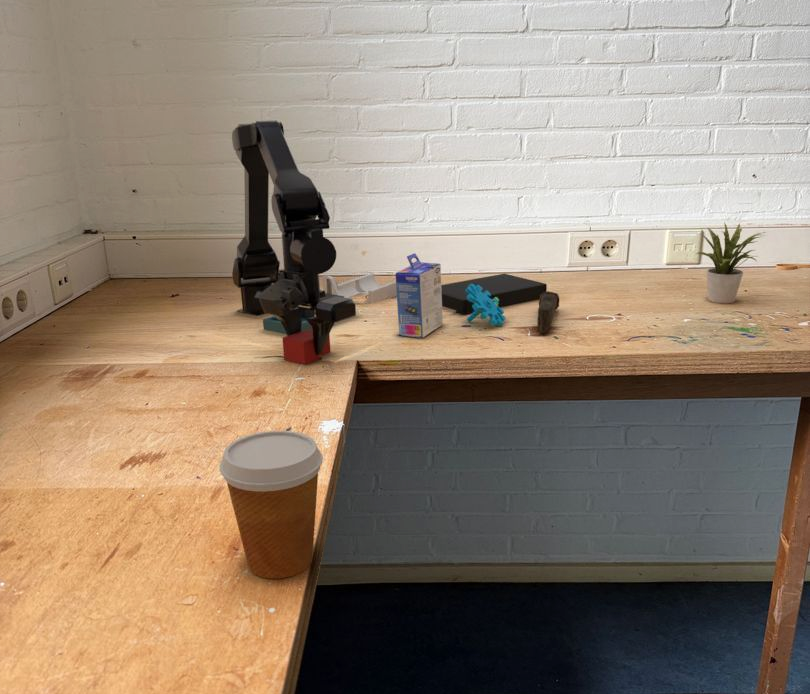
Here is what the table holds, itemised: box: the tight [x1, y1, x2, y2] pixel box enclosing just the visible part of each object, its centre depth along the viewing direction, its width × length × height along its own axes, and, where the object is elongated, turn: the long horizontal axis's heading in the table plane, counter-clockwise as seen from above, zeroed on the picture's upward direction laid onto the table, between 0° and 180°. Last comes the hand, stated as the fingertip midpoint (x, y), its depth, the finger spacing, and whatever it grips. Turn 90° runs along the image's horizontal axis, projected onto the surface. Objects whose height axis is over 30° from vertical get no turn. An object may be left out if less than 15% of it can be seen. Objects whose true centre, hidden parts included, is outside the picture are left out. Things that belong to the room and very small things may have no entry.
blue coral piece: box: [465, 284, 507, 327], centre depth 156 cm, size 11×6×10 cm
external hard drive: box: [441, 273, 548, 315], centre depth 174 cm, size 14×23×3 cm, turn 124°
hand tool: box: [537, 290, 560, 334], centre depth 155 cm, size 19×4×5 cm, turn 164°
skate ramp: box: [321, 270, 397, 305], centre depth 180 cm, size 15×13×5 cm
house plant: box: [695, 221, 766, 304], centre depth 164 cm, size 14×14×16 cm
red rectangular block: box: [281, 329, 331, 365], centre depth 138 cm, size 5×6×4 cm
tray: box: [262, 309, 356, 335], centre depth 158 cm, size 9×18×2 cm, turn 144°
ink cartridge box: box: [395, 252, 444, 339], centre depth 150 cm, size 10×6×14 cm, turn 155°
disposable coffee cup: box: [219, 430, 324, 579], centre depth 76 cm, size 10×10×12 cm
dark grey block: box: [304, 293, 344, 319], centre depth 161 cm, size 5×6×4 cm
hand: (307, 351), depth 138 cm, fingers closed on red rectangular block, 5 cm apart
